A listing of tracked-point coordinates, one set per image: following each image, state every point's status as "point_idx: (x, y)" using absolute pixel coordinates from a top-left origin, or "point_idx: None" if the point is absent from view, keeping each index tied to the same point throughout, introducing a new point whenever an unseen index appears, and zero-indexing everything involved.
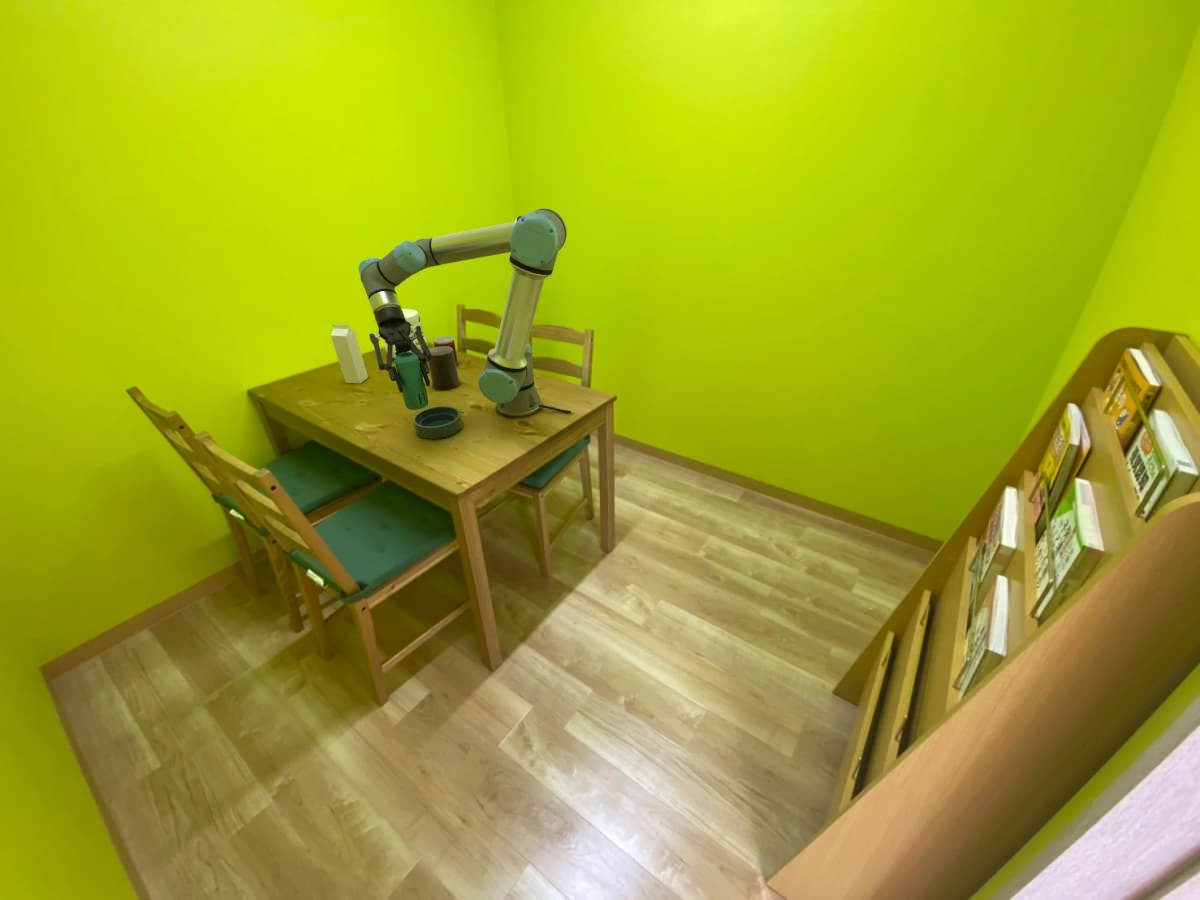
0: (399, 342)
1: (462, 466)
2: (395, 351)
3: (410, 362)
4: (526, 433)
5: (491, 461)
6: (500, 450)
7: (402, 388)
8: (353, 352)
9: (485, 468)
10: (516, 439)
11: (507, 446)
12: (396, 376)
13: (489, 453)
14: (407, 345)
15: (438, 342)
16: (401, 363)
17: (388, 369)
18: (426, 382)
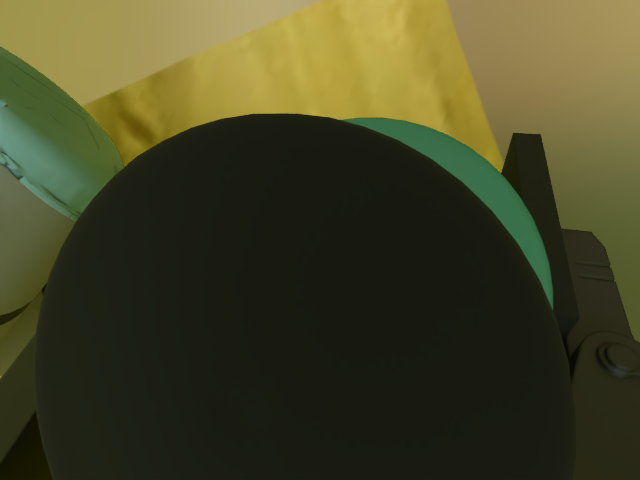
0: (338, 471)
1: (365, 70)
2: None
3: (357, 119)
4: (145, 137)
5: (286, 49)
6: (240, 92)
7: (512, 140)
8: None
9: (316, 22)
10: (180, 122)
11: (216, 101)
12: (546, 210)
13: (271, 94)
14: (193, 141)
15: None
16: (482, 163)
17: (622, 332)
18: None
